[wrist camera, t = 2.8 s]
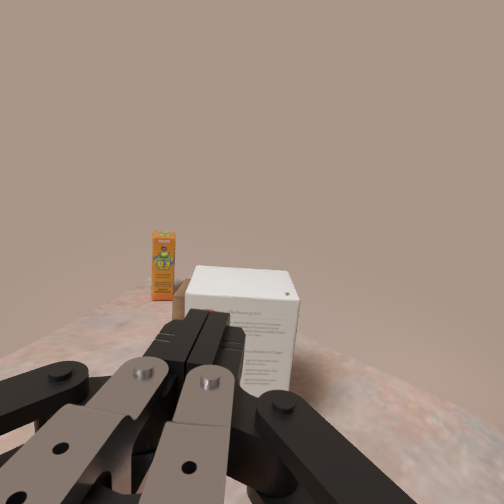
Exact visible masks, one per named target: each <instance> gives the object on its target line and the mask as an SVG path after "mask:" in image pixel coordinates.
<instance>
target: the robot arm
mask: <svg viewBox="0 0 504 504" xmlns="http://www.w3.org/2000/svg"><path fill="white" fill-rule="evenodd" d="M245 340H246V334H245V332H244V331H243V329H242V327H234V326H230V313H226V312H218V311H211V312H210V311H209V310H201V309H193V308H191V309H190V310H189V312H188V313H187V315H186V316H185V318H184V320H178V319H174V320H172V321H171V322H169V323H167V324H165V325H164V327H163V328H162V330H161V331H160V333H159V334H158V335H157V337H156V338H155V340H154V341H153V342H152V344H151V345H150V347H149V348H148V349H147V351H146V352H145V354H144V355H143V357H138V358H134V359H131V360H129V361H127V362H125V363H124V364H123V365H122V366H121V367H120V368H119V369H118V370H117V371H116V372H115V373H114V374H113V375H112V376H104V377H90V378H89V372H88V368H87V366H86V365H84V364H83V363H80V362H76V361H62V362H57V363H53V364H50V365H47V366H44V367H41V368H38V369H35V370H32V371H29V372H26V373H23V374H20V375H17V376H14V377H11V378H8V379H5V380H2V381H0V436H1V435H3V434H5V433H8V432H10V431H12V430H15V429H17V428H19V427H22V426H24V425H26V424H29V423H31V422H33V421H34V427H35V434H34V435H33V436H32V437H31V438H30V439H29V440H28V441H27V442H26V443H25V444H23V445H21V446H19V447H16V448H14V449H12V450H10V451H8V452H6V453H3V454H1V455H0V504H224V495H225V484H226V475H227V476H229V477H231V478H233V479H235V480H237V481H239V482H241V483H243V484H245V485H247V494H248V497H249V499H250V501H251V502H252V504H417V503H416V502H415V501H414V500H413V499H412V498H410V497H409V496H408V495H407V494H406V493H405V492H404V491H403V490H402V489H401V488H400V487H398V486H397V485H396V484H395V483H394V482H393V481H392V480H391V479H390V478H389V477H388V476H386V475H385V474H384V473H383V472H382V471H381V470H380V469H379V468H378V467H377V466H376V465H374V464H373V463H372V462H371V461H370V460H369V459H368V458H367V457H366V456H365V455H363V454H362V453H361V452H360V451H359V450H358V449H357V448H356V447H355V446H354V445H353V444H351V443H350V442H349V441H348V440H347V439H346V438H345V437H344V436H343V435H342V434H341V433H339V432H338V431H337V430H336V429H335V428H334V427H333V426H332V425H331V424H330V423H329V422H327V421H326V420H325V419H324V418H323V417H322V416H321V415H320V414H319V413H318V412H317V411H315V410H314V409H313V408H312V407H311V406H310V405H309V404H308V403H307V402H306V401H305V400H303V399H302V398H301V397H300V396H298V395H296V394H294V393H292V392H289V391H285V390H270V391H267V392H265V393H263V394H262V395H260V397H259V398H258V397H255V396H253V395H251V394H249V393H247V392H246V391H245V390H243V389H242V388H241V386H240V380H241V376H242V370H243V360H244V350H245Z"/></svg>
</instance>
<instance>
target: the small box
mask: <svg viewBox="0 0 504 504" xmlns="http://www.w3.org/2000/svg"><path fill="white" fill-rule="evenodd" d="M191 308H193V309H201V310H209V311H210V312H211V311H218V312H226V313H230V326H234V327H242V329H243V331H244V332H245V334H246V340H245V350H244V360H243V370H242V376H241V380H240V386H241V388H242V389H243V390H245V391H246V392H247V393H249V394H251V395H253V396H255V397H258V398H259V397H260V395H262V394H263V393H265V392H267V391H270V390H285V391H289V388H290V379H291V371H292V363H293V355H294V347H295V339H296V332H297V324H298V316H299V308H300V299H299V297H298V295H297V292H296V290H295V288H294V285H293V283H292V280H291V278H290V276H289V274H288V271H277V270H262V269H246V268H229V267H213V266H199V265H197V266H196V268H195V271H194V273H193V275H192V278H191V280H190V283H189V285H188V287H187V290H186V292H185V316H186V315H187V313H188V312H189V310H190V309H191Z"/></svg>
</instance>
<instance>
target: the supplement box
mask: <svg viewBox="0 0 504 504" xmlns="http://www.w3.org/2000/svg"><path fill="white" fill-rule="evenodd" d="M152 254H153V255H152V301H160V300H173V289H174V264H175V232H157V231H154V232H153V253H152Z"/></svg>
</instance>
